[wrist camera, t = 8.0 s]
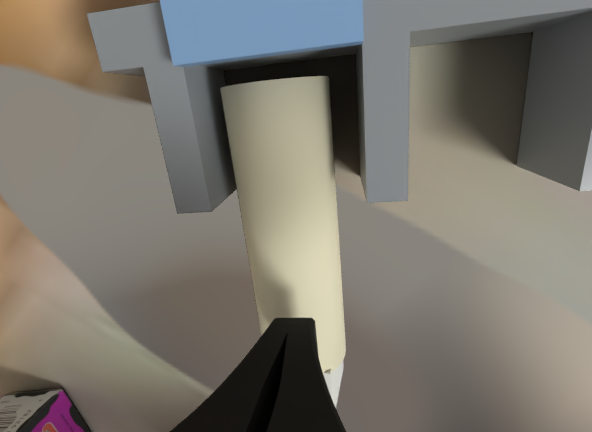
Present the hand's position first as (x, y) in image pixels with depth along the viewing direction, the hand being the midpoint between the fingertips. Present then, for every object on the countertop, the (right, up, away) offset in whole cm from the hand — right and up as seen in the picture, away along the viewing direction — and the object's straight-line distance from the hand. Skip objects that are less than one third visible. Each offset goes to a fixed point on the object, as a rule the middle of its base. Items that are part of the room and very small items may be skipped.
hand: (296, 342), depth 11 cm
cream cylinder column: (0, +3, +4) cm, 5 cm away
